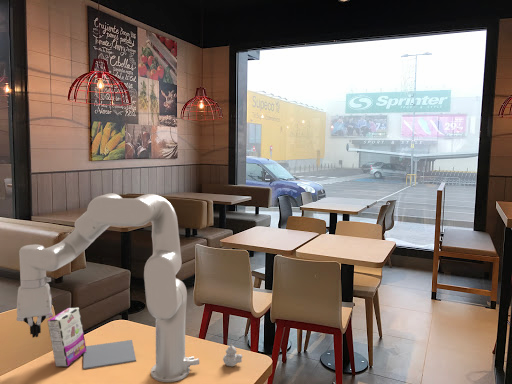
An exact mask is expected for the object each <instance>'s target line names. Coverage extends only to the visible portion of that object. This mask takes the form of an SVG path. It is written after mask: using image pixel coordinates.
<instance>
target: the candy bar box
mask: <svg viewBox="0 0 512 384" xmlns="http://www.w3.org/2000/svg"><path fill="white" fill-rule="evenodd" d="M47 326H48V330H49V337H50V342H51V348H52V353H53V359H54V364H55V367H58V368H59V367H63V368H64V367H69V366H70V365H71V364H73V363H74V362H75V361H76V360H77V359H79V358H80V357H81V356H82V355H84V353H85V352H86V351H87V350H86V346H87V345H86V340H85V335H84V329H83V323H82V317H81V312H80V308H79V307H67V308H66V309H64V310H62V311H61V312H59V313H57V314H56V315H54V316H52V317H50V318H48V320H47Z"/></svg>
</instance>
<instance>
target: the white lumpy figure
mask: <svg viewBox="0 0 512 384" xmlns="http://www.w3.org/2000/svg"><path fill="white" fill-rule="evenodd" d="M222 358H223V359H222V361H223V363H224V365H226V366H227V367H234V366H236V365H237V364H238V363H239V364H240V363H242V361H243V360H242V359H243V355H242V354H240V353H238V354H237V349H236V347H235V346H234V345H233V344H232V343H231V342H229V345H228V347H227V349H225V355H224V356H223V357H222Z"/></svg>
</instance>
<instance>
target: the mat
mask: <svg viewBox="0 0 512 384" xmlns="http://www.w3.org/2000/svg"><path fill="white" fill-rule="evenodd" d="M86 350H87V351H86V352H85V353H83V361H82V362H83V366H82V367H83V370H89V369H94V368H101V367H108V366H115V365H121V364H127V363H133V362H134V363H135V362H137V359H136V353H135V349H134V344H133V339H128V340H121V341H115V342H108V343H107V342H106V343H99V344H93V345H92V344H91V345H86Z"/></svg>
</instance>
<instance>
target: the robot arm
mask: <svg viewBox="0 0 512 384" xmlns="http://www.w3.org/2000/svg"><path fill="white" fill-rule="evenodd" d="M150 222H151V240H152V241H151V242H152V255H150V257H149V258H148V259H147V260H146V262H145V265H144V268H143V269H144V270H143V280H144V289H145V290H144V292H145V300H146V302H145V303H146V307H147V310H148V312H149V314H150V315H151V316H152V317H153V318H155V364H154V365H153V366H152V368H150V375H151V377H152V378H153V379H154V380H156V381H158V382H161V383H174V382H175V383H176V382H177V381H178V382H179V381H181V380H184V379H185V378H186V377H187V376H189V374H190V373H191V372H190V371H191V369H190V368H191V366H197V365H200V358H199V357H198V358H195V356H193V355H192V356H189V357H187V356H186V313H187V312H186V311H187V302H188V301H187V300H188V293H187V287H186V285H185V283H184V282H183V281H182V280H180V279H179V278H177V277H176V275H178V273H179V271H180V270H181V269H182V262H183V261H182V252H181V242H180V241H181V240H180V234H179V224H178V223H179V222H178V216H177V213H176V211H175V207H173V205H172V204H171V202H170V201H168V200H167V199H166V197H165V198H164V197H163V196H160V195H159V194H155V193H145V194H143V195H140V196H138V197H135V198H130V197H129V198H126V197H124V198H123V197H122V196H121V195H119V194H117V193H112V192H111V193H106V194H101V195H98V196H96V197H94V198H93V199H92V200H90V202H89V203H88V205H87V210H86V211H85V212H83V213H82V214H81V216H79V217H78V218H77V219H76V220H75V221H74V229H73V230H72V231H71V232H70V233H69V234H68V235H67V236H66V237H65V238H64V239H63V240H61V241H60V242H58V243H56V244H54V245H51V246H49V247H45V246H44V245H43V244H37V243H36V244H35V243H34V244H27V245H23V246H21V248H20V249H19V252H18V253H19V255H18V256H19V272H20V273H19V274H20V275H19V276H20V279H19V281H20V286H18V288H17V289H18V290H17V297H16V298H17V299H16V315H17V316H16V321H17V322H24V323H26V324H27V325H28V327H29V333H30V334H29V335H32V338H38V337H39V335H40V334H41V333H42V330H41V329H42V327H41V324H42V323H43V322H44V321H45V320H46V319H51V318H53V317H54V316H53V315H54V313H53V311H52V310H53V301H52V292H51V287H50V284H49V282H52V277H49V276H47V272H54V271H57V270H58V269H60V268H62V267H64V266H66V265H67V264H70V263H71V262H73V261H74V260H75V259H76V258H77V257H79V255H81V254H82V253H83V252H84V251H85V250H86V249H88V247H89V246H90V245H91V244H92V243H94V242H95V240H96V239H97V238H99V236H101V235H102V234H103V233H104V232H106V230H107V229H109V227H111V226H114V227H115V226H116V227H117V226H118V227H141V226H145V225H147V224H149V223H150ZM34 318H37V319H36V321H35V320H34Z"/></svg>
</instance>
